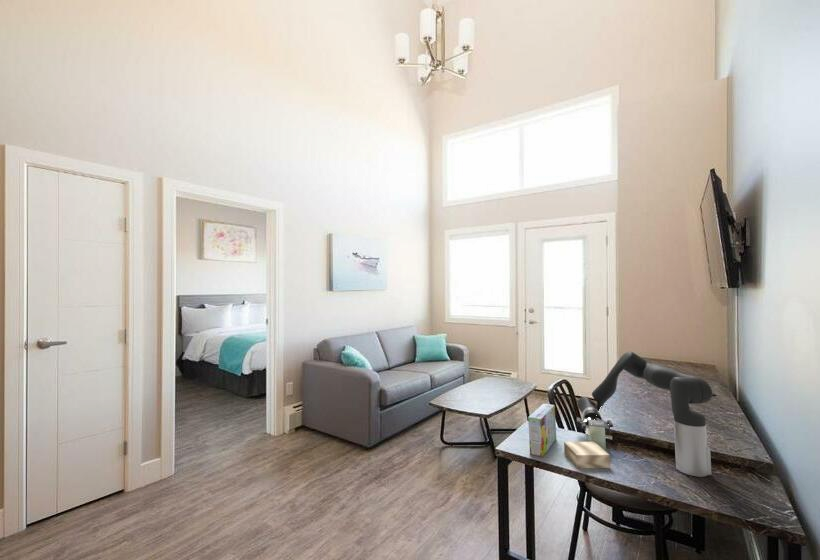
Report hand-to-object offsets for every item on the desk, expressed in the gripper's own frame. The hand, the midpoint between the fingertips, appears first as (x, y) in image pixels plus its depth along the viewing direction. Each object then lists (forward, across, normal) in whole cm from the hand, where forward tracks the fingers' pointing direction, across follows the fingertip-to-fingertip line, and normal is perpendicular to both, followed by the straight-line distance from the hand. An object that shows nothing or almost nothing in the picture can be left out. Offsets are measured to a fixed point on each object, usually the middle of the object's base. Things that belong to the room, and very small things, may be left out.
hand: (596, 429), depth 156 cm
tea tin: (+3, 0, +6) cm, 7 cm away
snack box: (+10, -21, +6) cm, 24 cm away
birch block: (+18, -5, +6) cm, 20 cm away
